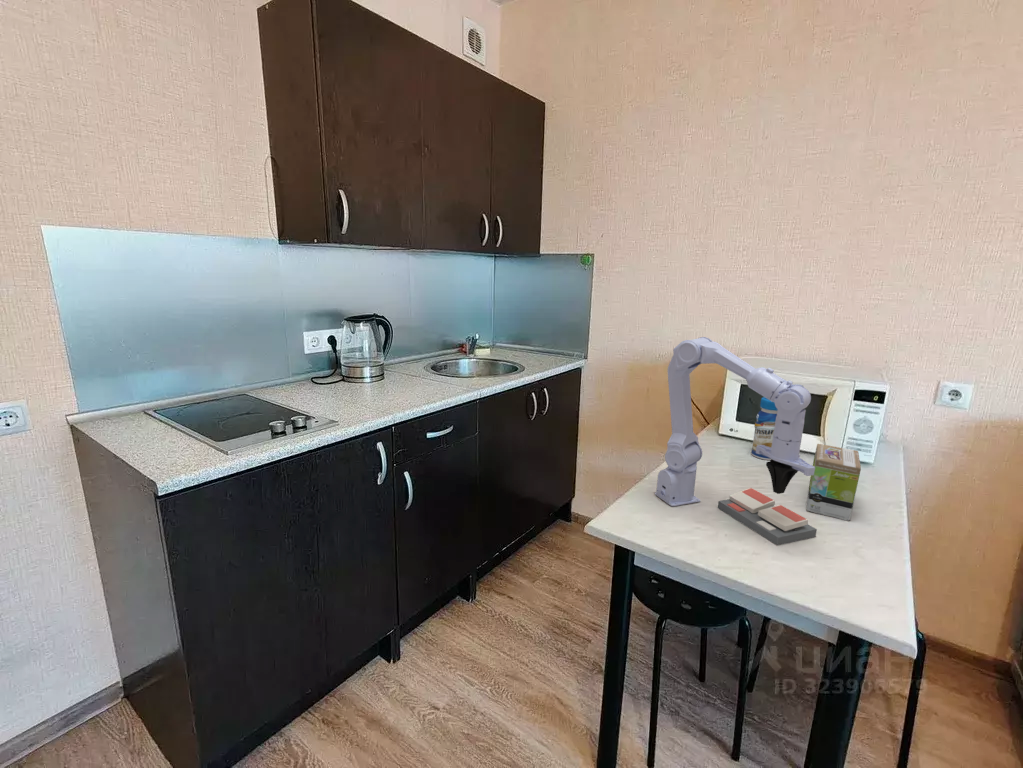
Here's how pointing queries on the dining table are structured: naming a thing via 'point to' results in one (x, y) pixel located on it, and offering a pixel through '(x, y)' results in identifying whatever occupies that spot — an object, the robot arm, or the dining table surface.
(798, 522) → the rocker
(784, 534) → the switch panel
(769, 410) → the beverage bottle
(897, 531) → the dining table surface
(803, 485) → the dining table surface
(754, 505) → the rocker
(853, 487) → the tea box
